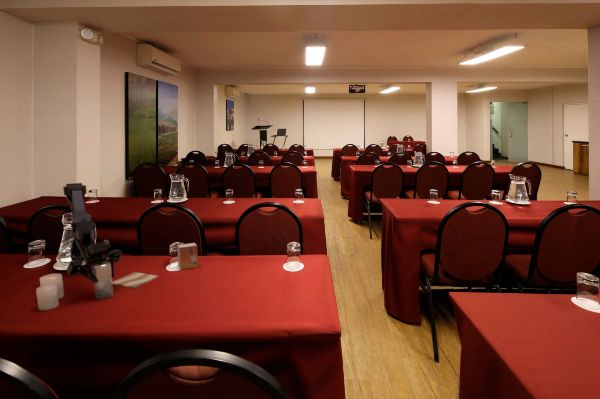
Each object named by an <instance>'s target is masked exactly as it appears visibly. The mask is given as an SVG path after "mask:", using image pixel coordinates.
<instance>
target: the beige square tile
mask: <svg viewBox="0 0 600 399" xmlns="http://www.w3.org/2000/svg"><path fill="white" fill-rule="evenodd" d="M157 278H159V275H156V274H148V273H143V272H137V271H134V272H132V273H130V274H126V275H125V276H121V277H119V278H118V279H115V280H112V284H113V285H115V286H120V287H126V288H131V289H137V288H139V287H141V286H143V285H145V284H147V283H149V282H151V281H154V280H156V279H157Z"/></svg>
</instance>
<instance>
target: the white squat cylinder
mask: <svg viewBox="0 0 600 399" xmlns="http://www.w3.org/2000/svg"><path fill="white" fill-rule="evenodd" d="M35 291H36V299H37V307H38V310H40V311H48V310H52V309H55V308H57V307H58V306H59V305H60V304H59V299H58V295H57V286H56V285H53V284H50V285H44V286H39V287H37V288H36V289H35Z"/></svg>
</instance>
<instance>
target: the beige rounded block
mask: <svg viewBox="0 0 600 399" xmlns="http://www.w3.org/2000/svg"><path fill="white" fill-rule="evenodd" d="M39 283H40V286H39V287H41V286H44V285H50V284H53V285H56V286H57V295H58V300H59V299H61V298H63V297H65V292H64V290H65V289H64V281H63V274H61V273H50V274H46V275H43V276H41V277H39Z"/></svg>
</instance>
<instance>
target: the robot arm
mask: <svg viewBox="0 0 600 399" xmlns="http://www.w3.org/2000/svg"><path fill="white" fill-rule="evenodd" d="M65 184H66V185H65V186H63V187H62V188H63V195H64V196H65V198H66V200H67V201H68V203H70V206H71V216H72V217H71V218H72V222H70V229H71V232H72V233H73V234H74V238H73V239H72V241H71V246H70V248H69V249H70V250H69V251H70V252H69V254H70V259H71V261H70V262H69V263H68V265H67V268H66V272H67V274H68V275H69V276H72V275H75V274H77V275H79V276H80V275H81V276H83V277H85V278H86V279H88V280H89V281H91V282H93V284H94V283H97V280H96V277H95V276H94V274H93V264H95V263H98V262H105V261H106V262H111V272H112V279H114V278H115V270H114V264H115V263H118V262H119V261H120V259H121V257H122V256H123V252H122V250H120V249H114V250H110V251H109V252H108V254H107V255H105V251H107V250H108V249H109V248H111V246H112V245H111V243H110V241H109V240H108V239H104V240H102V241H101V242H96V241H95V240H94V231H95V229H96V228H97V224H96V223H95V222H94V221H93V220H92V218H91V215H90V214H89V213H88V212H87V211H86V206H85V197H86V194H87V185H83V183H82V182H74V183H65ZM103 255H104V256H103Z"/></svg>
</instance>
